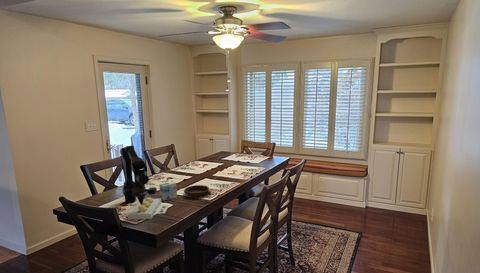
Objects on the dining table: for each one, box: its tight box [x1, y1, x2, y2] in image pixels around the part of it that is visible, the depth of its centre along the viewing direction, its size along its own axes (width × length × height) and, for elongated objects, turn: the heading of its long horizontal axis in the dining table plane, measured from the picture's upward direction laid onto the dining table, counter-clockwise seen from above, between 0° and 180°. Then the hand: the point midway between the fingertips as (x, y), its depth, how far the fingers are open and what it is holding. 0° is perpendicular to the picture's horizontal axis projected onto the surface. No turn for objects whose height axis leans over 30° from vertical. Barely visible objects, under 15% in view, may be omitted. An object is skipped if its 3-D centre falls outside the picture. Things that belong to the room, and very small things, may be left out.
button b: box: [142, 201, 149, 208], centre depth 191 cm, size 4×4×4 cm
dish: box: [183, 184, 212, 199], centre depth 217 cm, size 18×22×5 cm
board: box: [127, 198, 162, 221], centre depth 191 cm, size 14×26×3 cm, turn 1°
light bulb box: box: [159, 180, 178, 201], centre depth 213 cm, size 11×7×11 cm, turn 126°
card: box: [156, 205, 169, 215], centre depth 191 cm, size 5×12×1 cm, turn 1°
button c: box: [144, 196, 153, 203], centre depth 198 cm, size 4×4×4 cm
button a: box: [138, 205, 146, 212], centre depth 184 cm, size 4×4×4 cm
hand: (141, 204), depth 183 cm, fingers closed
